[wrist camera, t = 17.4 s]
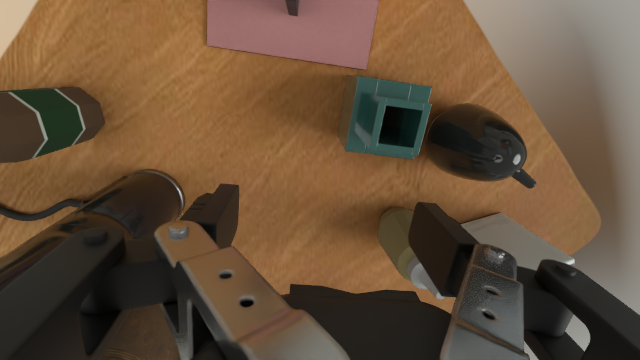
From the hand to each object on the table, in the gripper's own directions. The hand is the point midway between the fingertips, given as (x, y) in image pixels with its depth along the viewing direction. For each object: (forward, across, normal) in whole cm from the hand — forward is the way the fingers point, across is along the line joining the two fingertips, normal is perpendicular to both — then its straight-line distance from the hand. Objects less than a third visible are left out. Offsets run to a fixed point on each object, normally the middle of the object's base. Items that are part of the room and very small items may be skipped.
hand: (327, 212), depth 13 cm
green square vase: (+33, -9, -2) cm, 34 cm away
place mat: (+33, +3, -14) cm, 36 cm away
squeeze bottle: (+33, -17, +16) cm, 41 cm away
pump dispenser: (+33, -22, 0) cm, 40 cm away
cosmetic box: (+33, -33, +17) cm, 50 cm away
